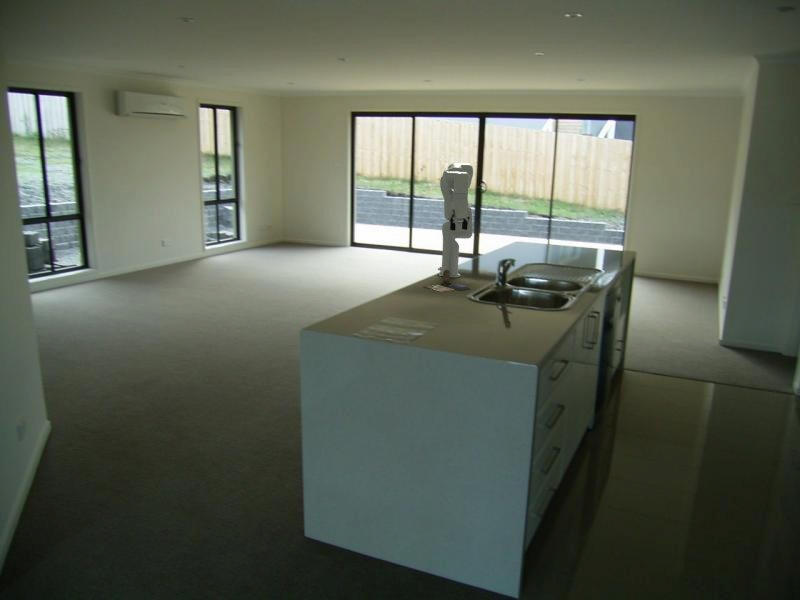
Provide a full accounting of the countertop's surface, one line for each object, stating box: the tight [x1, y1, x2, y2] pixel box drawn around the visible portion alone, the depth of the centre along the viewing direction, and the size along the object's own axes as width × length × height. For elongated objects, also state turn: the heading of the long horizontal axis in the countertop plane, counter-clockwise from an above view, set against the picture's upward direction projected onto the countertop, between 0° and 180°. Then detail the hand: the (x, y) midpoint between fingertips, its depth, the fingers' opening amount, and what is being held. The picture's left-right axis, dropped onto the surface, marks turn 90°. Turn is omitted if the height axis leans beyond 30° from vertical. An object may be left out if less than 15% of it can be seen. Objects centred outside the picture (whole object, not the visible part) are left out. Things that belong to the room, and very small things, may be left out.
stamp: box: [440, 270, 452, 287], centre depth 340 cm, size 4×4×8 cm
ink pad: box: [447, 283, 471, 291], centre depth 334 cm, size 9×7×2 cm
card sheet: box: [431, 284, 456, 293], centre depth 331 cm, size 14×10×1 cm
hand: (458, 229), depth 331 cm, fingers open, 9 cm apart
